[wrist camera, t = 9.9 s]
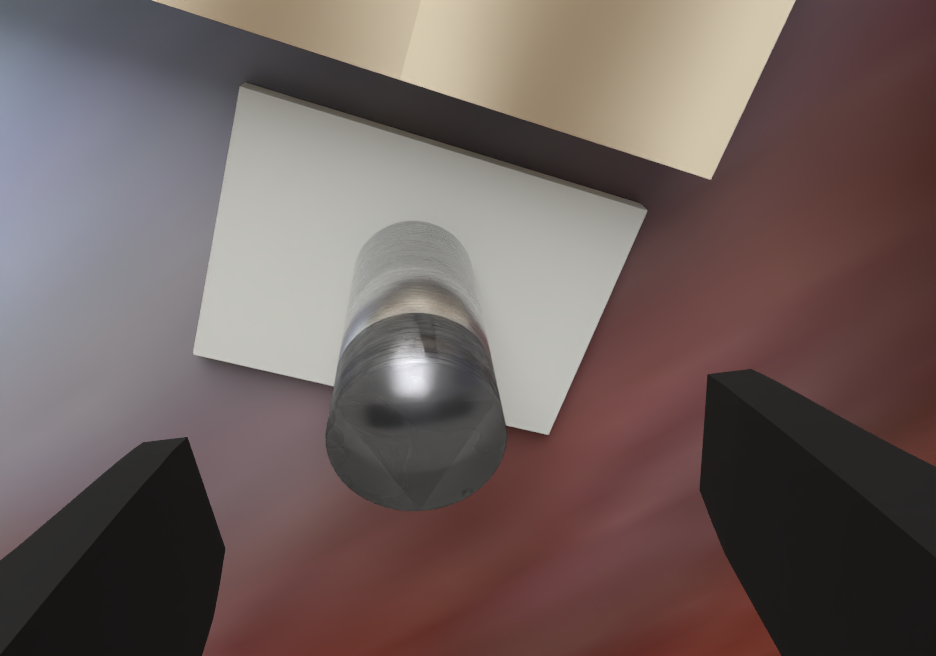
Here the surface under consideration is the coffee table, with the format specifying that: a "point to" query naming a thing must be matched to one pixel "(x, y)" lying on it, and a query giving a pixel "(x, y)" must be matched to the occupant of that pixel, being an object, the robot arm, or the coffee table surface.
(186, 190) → the coffee table surface
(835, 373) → the coffee table surface
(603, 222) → the mat
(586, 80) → the socket block
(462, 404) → the metal cylinder
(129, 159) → the coffee table surface
